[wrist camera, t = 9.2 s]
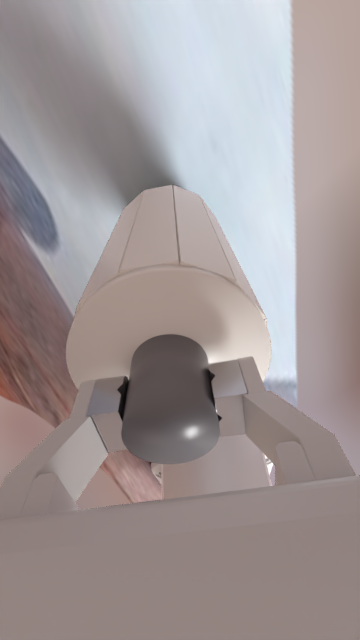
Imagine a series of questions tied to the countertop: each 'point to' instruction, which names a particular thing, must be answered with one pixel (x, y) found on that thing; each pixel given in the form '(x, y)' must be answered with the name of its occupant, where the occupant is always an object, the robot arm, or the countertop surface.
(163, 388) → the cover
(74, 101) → the countertop surface
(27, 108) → the countertop surface
